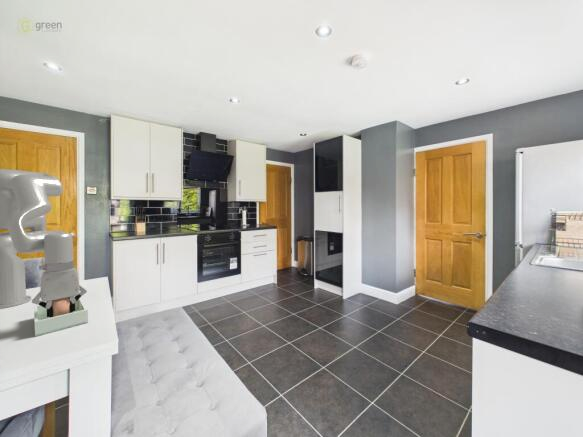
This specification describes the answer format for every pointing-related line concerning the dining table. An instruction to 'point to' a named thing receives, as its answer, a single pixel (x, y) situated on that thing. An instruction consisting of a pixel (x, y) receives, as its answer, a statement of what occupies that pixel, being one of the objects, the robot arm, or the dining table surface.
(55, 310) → the terracotta cylinder
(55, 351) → the dining table surface
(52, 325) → the tote
